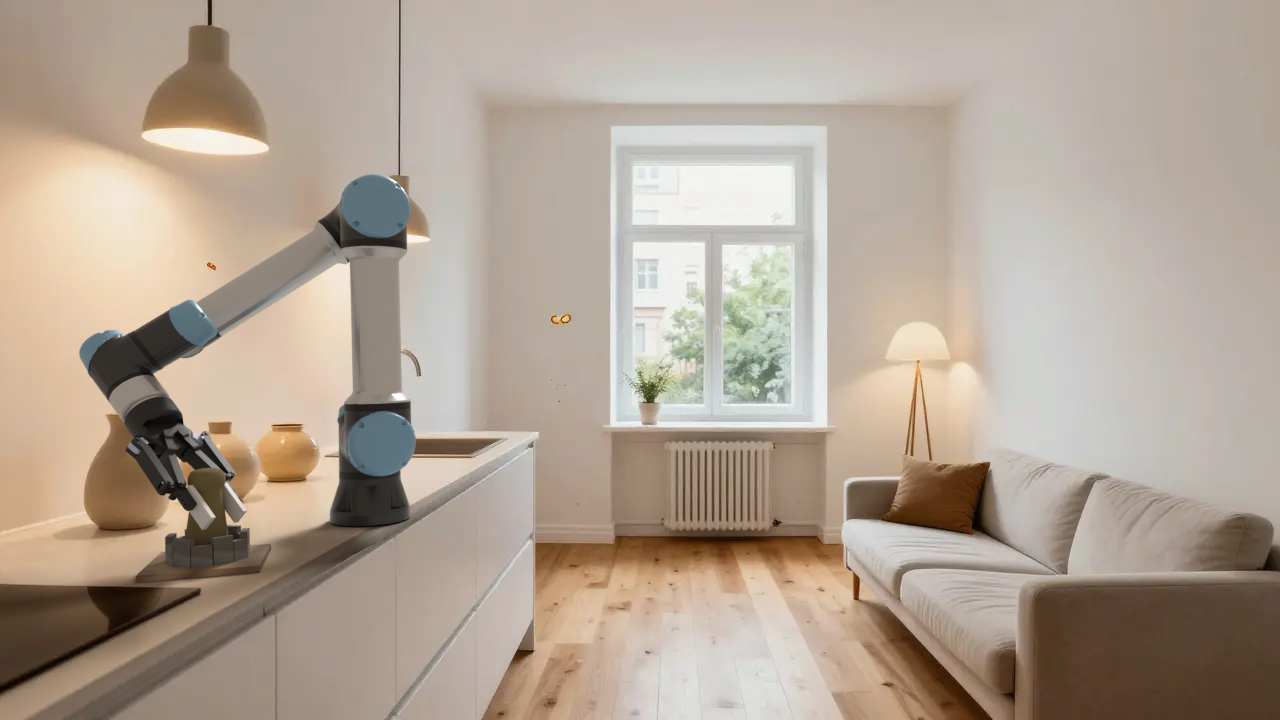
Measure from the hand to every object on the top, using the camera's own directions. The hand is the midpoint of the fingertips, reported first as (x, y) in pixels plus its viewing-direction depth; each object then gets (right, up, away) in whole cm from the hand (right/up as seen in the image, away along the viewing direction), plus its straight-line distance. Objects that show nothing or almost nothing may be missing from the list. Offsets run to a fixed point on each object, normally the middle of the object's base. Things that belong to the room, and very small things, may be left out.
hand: (225, 519), depth 124 cm
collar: (-3, -7, +1) cm, 8 cm away
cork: (-3, -4, +1) cm, 5 cm away
